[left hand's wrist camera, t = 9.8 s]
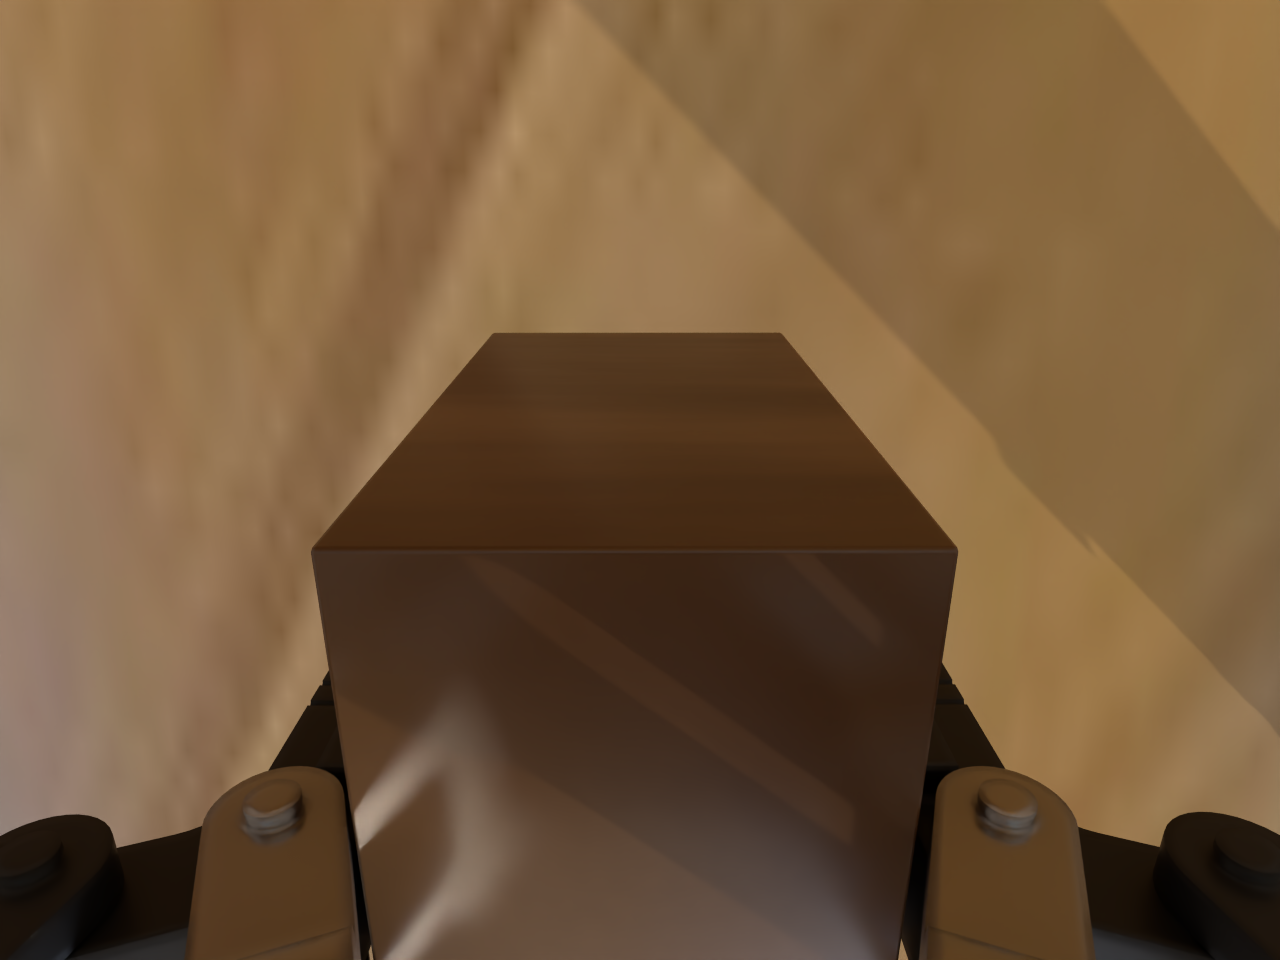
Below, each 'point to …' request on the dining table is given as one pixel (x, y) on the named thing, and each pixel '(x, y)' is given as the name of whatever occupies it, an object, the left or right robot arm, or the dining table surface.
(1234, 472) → the dining table surface
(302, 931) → the left robot arm
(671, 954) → the bar
